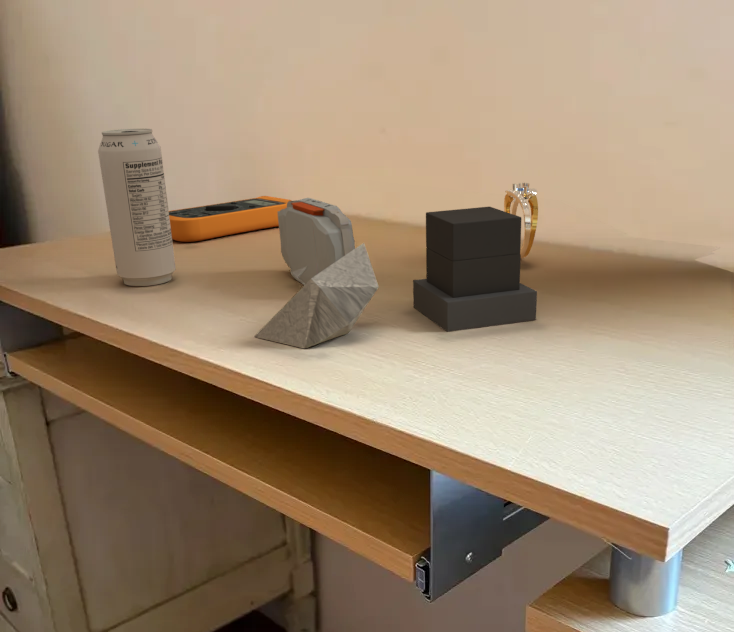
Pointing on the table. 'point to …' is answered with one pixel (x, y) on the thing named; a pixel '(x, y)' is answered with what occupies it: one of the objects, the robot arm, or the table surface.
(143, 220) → the energy drink can
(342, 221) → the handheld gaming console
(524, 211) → the ring
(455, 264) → the black square block
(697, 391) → the table surface
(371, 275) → the grey angular faceted piece
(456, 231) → the graphite pad
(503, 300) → the base pad
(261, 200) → the multimeter
